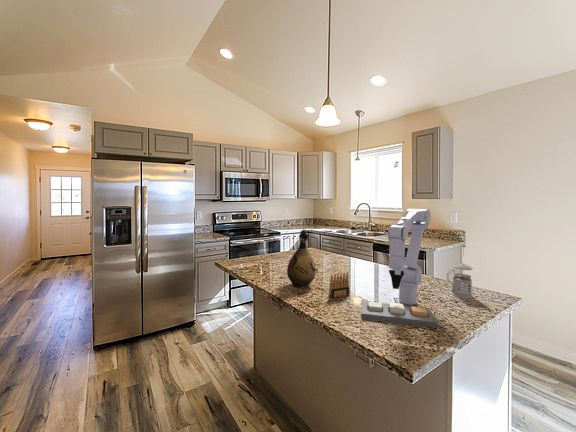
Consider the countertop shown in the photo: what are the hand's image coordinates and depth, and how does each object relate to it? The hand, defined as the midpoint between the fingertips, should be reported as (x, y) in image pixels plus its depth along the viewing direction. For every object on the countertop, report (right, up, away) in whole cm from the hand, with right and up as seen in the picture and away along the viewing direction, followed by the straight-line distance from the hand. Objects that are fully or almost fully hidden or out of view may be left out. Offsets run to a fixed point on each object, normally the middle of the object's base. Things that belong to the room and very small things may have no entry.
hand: (395, 288), depth 114 cm
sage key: (-9, -10, -2) cm, 13 cm away
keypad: (-1, -11, -4) cm, 11 cm away
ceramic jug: (-37, -8, +38) cm, 53 cm away
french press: (+41, -10, +24) cm, 48 cm away
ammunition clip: (-20, -10, +18) cm, 28 cm away
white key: (-1, -10, -4) cm, 10 cm away
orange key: (+6, -10, -6) cm, 14 cm away
